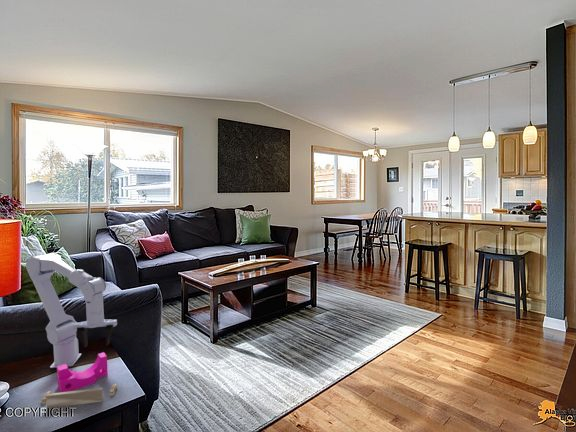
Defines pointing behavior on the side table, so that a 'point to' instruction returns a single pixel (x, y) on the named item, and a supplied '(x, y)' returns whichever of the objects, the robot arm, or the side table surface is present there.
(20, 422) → the side table surface
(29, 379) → the side table surface
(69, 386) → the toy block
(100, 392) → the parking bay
